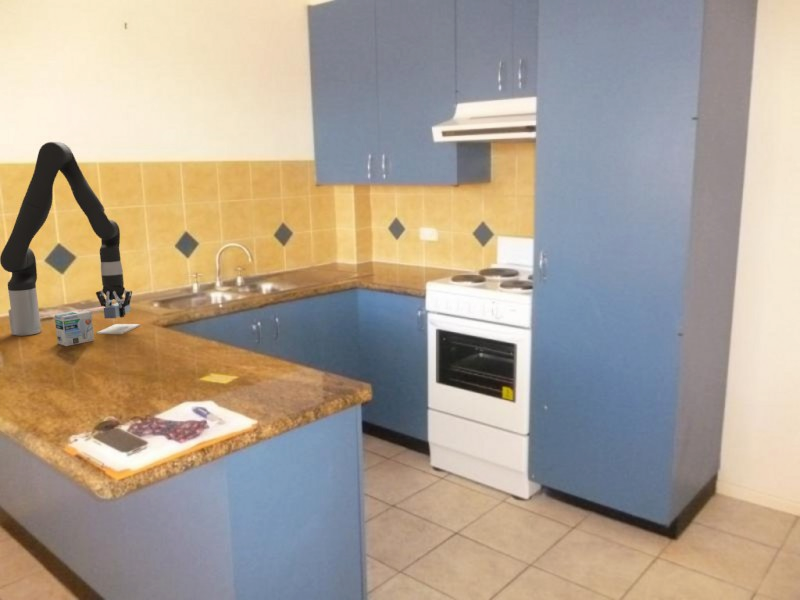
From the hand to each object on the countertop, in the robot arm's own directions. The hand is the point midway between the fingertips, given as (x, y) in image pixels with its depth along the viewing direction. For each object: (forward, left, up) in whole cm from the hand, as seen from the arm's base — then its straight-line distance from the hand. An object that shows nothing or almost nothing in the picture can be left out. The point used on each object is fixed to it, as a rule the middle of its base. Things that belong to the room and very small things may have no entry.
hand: (116, 316), depth 258 cm
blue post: (0, +7, +3) cm, 8 cm away
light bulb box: (-6, -18, -6) cm, 20 cm away
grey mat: (0, +1, -5) cm, 5 cm away
